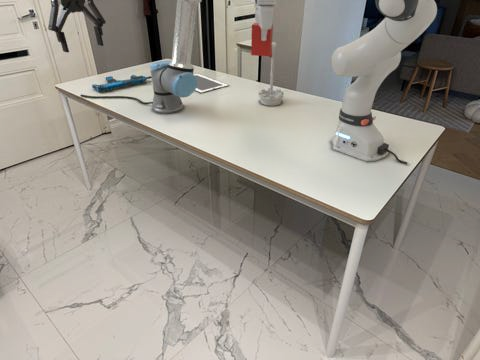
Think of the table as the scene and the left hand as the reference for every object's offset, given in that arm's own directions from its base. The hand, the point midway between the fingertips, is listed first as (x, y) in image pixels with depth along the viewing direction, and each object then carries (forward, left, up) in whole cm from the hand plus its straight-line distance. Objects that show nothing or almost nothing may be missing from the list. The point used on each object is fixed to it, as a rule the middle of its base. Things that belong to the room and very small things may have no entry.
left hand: (84, 48), depth 124 cm
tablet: (-36, +74, -36) cm, 91 cm away
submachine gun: (-67, +38, -36) cm, 85 cm away
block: (+38, +53, -4) cm, 66 cm away
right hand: (+39, +53, +2) cm, 66 cm away
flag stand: (+16, +84, -36) cm, 93 cm away
